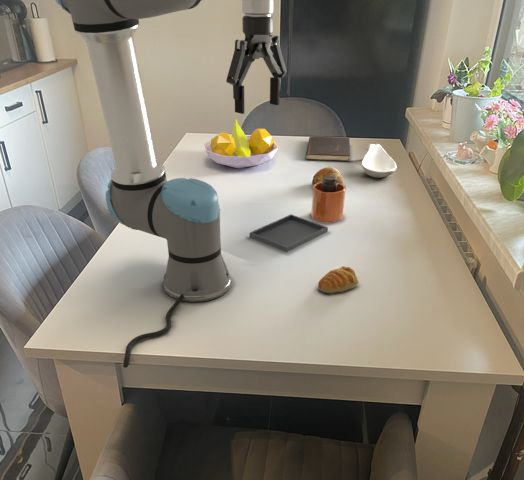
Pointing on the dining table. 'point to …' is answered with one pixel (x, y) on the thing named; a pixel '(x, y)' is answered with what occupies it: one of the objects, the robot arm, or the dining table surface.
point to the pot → (327, 204)
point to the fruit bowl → (241, 148)
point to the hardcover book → (328, 149)
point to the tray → (288, 232)
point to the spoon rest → (377, 162)
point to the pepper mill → (329, 184)
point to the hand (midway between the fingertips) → (257, 108)
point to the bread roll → (327, 172)
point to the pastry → (338, 280)
